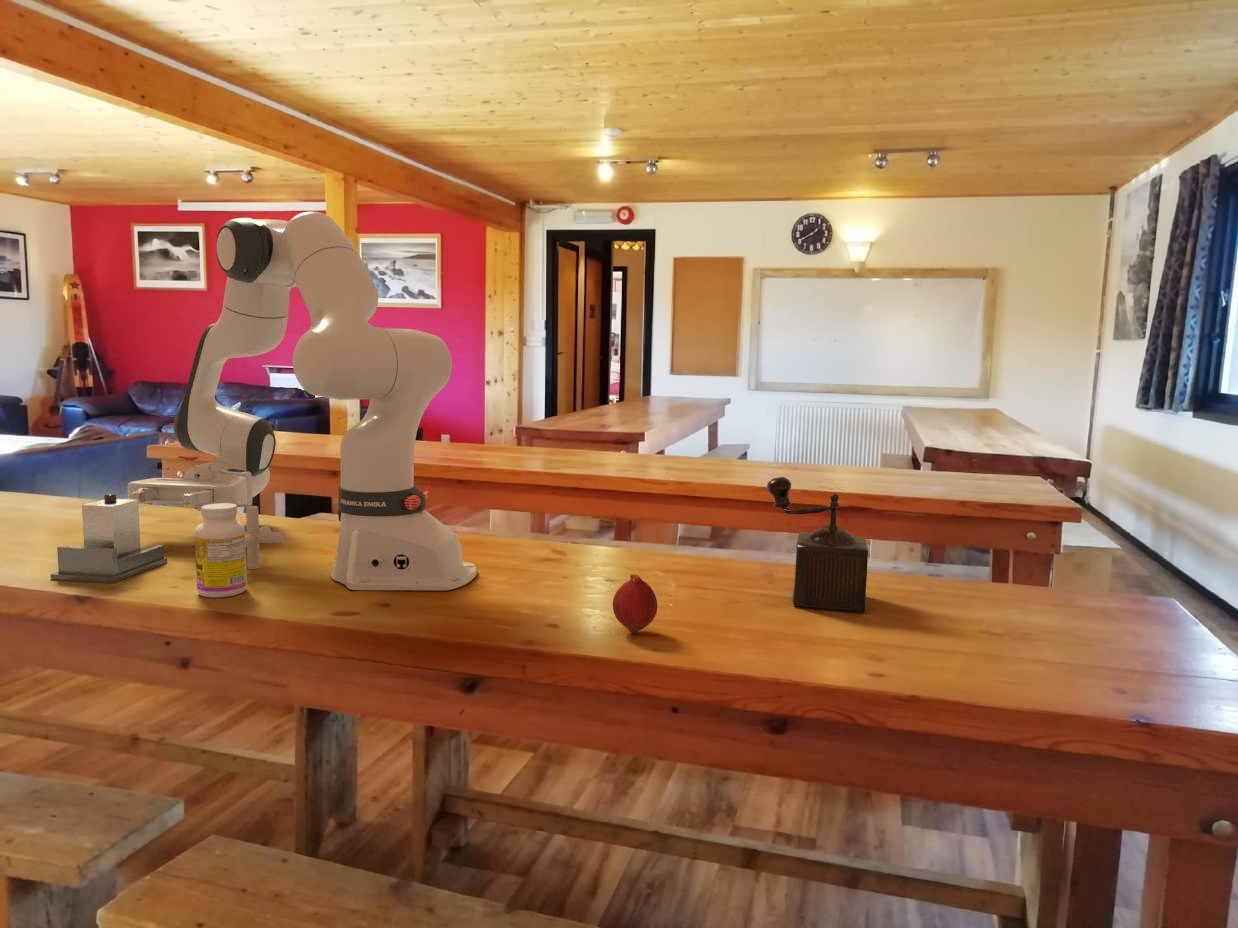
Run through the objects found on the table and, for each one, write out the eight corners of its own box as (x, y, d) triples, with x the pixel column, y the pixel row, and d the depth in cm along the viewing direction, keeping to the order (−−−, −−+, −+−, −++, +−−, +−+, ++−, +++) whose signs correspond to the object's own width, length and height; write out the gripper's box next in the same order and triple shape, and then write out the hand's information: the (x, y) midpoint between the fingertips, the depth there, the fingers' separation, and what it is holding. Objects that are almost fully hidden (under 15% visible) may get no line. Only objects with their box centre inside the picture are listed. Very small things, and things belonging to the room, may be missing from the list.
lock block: (141, 561, 139) (137, 492, 138) (115, 570, 133) (111, 498, 132) (112, 559, 140) (108, 491, 138) (85, 568, 134) (81, 497, 132)
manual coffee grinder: (862, 594, 135) (870, 480, 133) (866, 614, 125) (874, 491, 122) (762, 585, 139) (767, 474, 136) (757, 604, 128) (763, 484, 126)
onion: (631, 622, 118) (632, 565, 117) (665, 632, 114) (667, 573, 113) (603, 632, 113) (604, 573, 112) (637, 643, 110) (639, 581, 109)
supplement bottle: (200, 587, 128) (197, 502, 127) (249, 585, 130) (246, 501, 129) (193, 600, 122) (190, 510, 120) (244, 597, 124) (241, 509, 122)
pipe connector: (271, 576, 135) (269, 513, 134) (208, 574, 135) (206, 511, 134) (296, 561, 145) (295, 502, 144) (237, 559, 145) (235, 500, 144)
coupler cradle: (167, 562, 142) (166, 533, 141) (112, 583, 129) (110, 551, 129) (110, 558, 143) (109, 530, 142) (50, 579, 130) (49, 548, 130)
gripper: (155, 468, 162) (103, 478, 148) (259, 471, 159) (216, 482, 146) (157, 501, 162) (105, 514, 149) (260, 505, 160) (217, 519, 147)
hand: (161, 498), depth 147 cm, fingers open, 8 cm apart
